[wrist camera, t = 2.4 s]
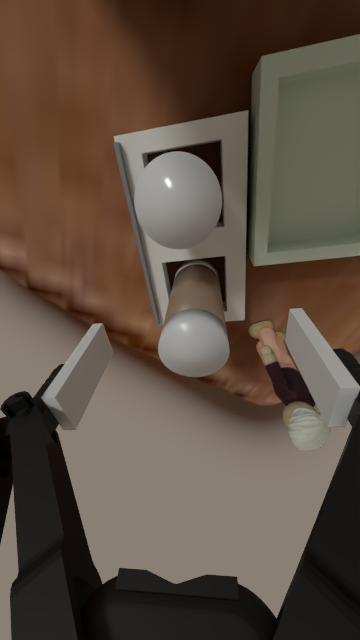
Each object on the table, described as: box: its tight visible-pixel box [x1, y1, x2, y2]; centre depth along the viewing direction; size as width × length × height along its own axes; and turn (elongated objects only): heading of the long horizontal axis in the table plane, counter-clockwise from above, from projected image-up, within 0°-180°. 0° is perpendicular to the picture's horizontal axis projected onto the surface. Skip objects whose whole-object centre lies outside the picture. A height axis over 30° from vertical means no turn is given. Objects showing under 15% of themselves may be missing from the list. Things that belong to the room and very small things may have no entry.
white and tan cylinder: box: [158, 259, 230, 377], centre depth 19 cm, size 4×4×11 cm
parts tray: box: [248, 34, 360, 266], centre depth 16 cm, size 12×12×3 cm
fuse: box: [134, 151, 222, 249], centre depth 15 cm, size 4×4×9 cm
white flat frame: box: [113, 110, 248, 326], centre depth 20 cm, size 16×9×3 cm, turn 8°
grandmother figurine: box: [249, 321, 331, 451], centre depth 21 cm, size 8×4×13 cm, turn 57°
